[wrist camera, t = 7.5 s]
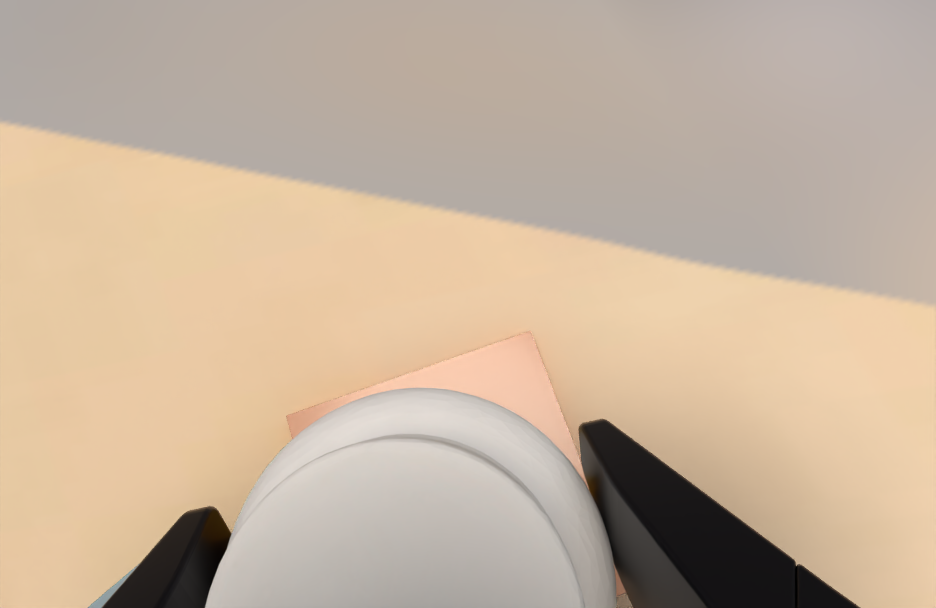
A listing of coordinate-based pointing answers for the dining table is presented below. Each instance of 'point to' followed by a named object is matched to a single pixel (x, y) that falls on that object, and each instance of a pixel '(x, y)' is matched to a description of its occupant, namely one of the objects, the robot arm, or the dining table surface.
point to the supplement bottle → (418, 514)
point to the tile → (482, 391)
